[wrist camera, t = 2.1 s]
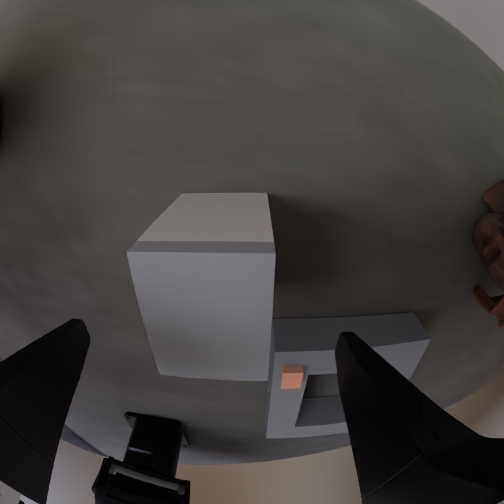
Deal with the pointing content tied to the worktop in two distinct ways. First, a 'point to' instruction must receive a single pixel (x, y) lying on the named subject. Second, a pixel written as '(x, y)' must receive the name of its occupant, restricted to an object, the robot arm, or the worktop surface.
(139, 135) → the worktop surface
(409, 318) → the socket block
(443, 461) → the robot arm
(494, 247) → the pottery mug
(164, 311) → the plug
